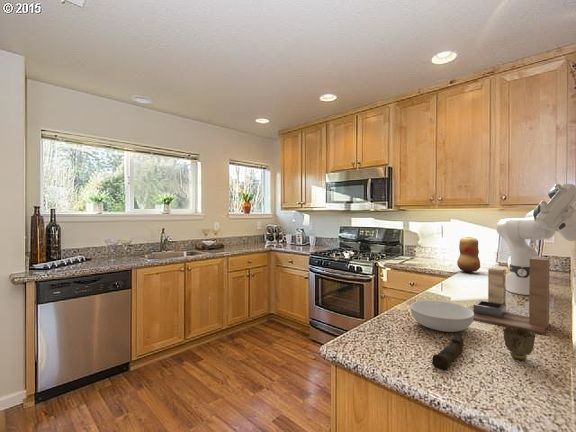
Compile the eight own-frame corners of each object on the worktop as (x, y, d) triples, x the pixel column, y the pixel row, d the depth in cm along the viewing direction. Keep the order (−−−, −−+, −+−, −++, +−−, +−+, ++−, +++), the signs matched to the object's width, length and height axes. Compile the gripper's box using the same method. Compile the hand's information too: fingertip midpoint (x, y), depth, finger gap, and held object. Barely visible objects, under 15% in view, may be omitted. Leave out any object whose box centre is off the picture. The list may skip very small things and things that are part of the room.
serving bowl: (398, 323, 114) (398, 305, 114) (432, 314, 125) (432, 297, 125) (451, 343, 96) (452, 322, 96) (486, 330, 107) (486, 311, 107)
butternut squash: (456, 273, 210) (456, 237, 210) (457, 269, 221) (457, 235, 221) (480, 275, 203) (480, 238, 202) (480, 271, 214) (480, 236, 214)
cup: (496, 352, 90) (496, 326, 90) (519, 351, 91) (519, 325, 91) (517, 365, 83) (517, 336, 83) (542, 364, 83) (542, 335, 83)
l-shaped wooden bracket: (470, 308, 132) (471, 251, 132) (549, 323, 114) (549, 257, 114) (460, 317, 121) (460, 254, 121) (545, 335, 103) (546, 262, 103)
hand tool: (447, 373, 79) (447, 355, 79) (431, 367, 82) (431, 350, 82) (471, 351, 92) (472, 336, 92) (457, 347, 95) (457, 332, 95)
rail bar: (491, 308, 132) (492, 267, 132) (505, 310, 129) (505, 268, 128) (488, 310, 129) (488, 268, 129) (502, 313, 125) (502, 270, 125)
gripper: (586, 197, 126) (574, 175, 121) (555, 234, 125) (542, 213, 121) (569, 195, 132) (557, 174, 127) (539, 230, 131) (526, 210, 126)
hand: (549, 193), depth 124 cm, fingers open, 8 cm apart
